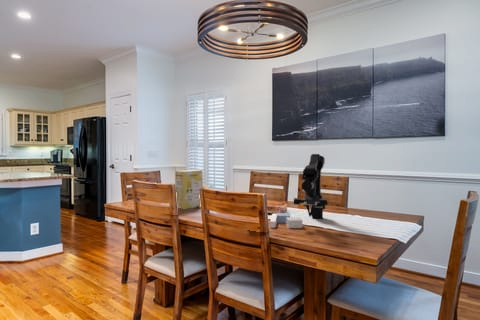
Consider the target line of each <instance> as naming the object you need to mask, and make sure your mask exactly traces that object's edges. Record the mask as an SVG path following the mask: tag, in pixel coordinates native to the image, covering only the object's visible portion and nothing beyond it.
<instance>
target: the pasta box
mask: <svg viewBox="0 0 480 320" xmlns="http://www.w3.org/2000/svg"><path fill="white" fill-rule="evenodd" d="M174 172H175V173H174V177H175V178H174V182H175V184H174V185H176V192H177V204H178V208H177V209H180V208H181V209H180V210H189V209H193V208H198V207H197V206H200V198H199V188H203V170H201V169H200V170H199V169H188V170H187V169H186V170H175V171H174ZM200 207H201V206H200ZM188 208H189V209H188Z"/></svg>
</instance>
